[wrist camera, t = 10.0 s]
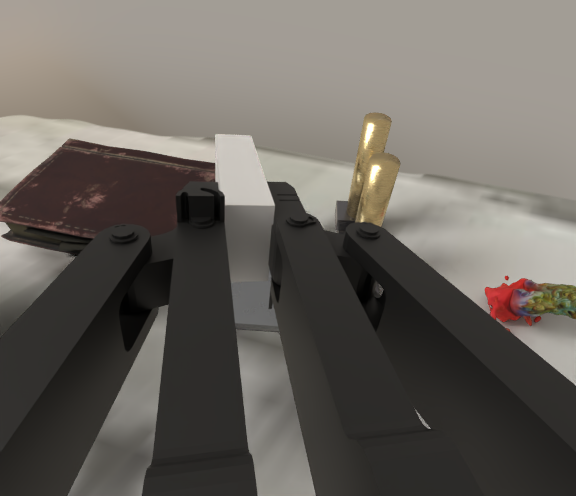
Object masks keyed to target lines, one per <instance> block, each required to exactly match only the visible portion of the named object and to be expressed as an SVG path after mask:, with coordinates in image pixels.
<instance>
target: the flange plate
mask: <svg viewBox="0 0 576 496" xmlns="http://www.w3.org/2000/svg"><path fill="white" fill-rule="evenodd" d="M270 286H271V273H270V269H269V276H268V281H252V282H231V289H232V299H233V309H234V318H235V328H236V329H247V330H260V331H274V332H279V328H278V323H277V319H276V314H275V310H274V306H273V304H272V309H268V308H269V297H270Z"/></svg>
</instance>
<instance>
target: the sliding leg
mask: <svg viewBox="0 0 576 496" xmlns="http://www.w3.org/2000/svg"><path fill="white" fill-rule="evenodd" d="M399 167H400V161H399V159H398V158H397V157H395V156H394V155H391V154H389V153H375V154H373V155H372V156H371V157H370V158H369V163H368V167H367V172H366V176H365V180H364V185H363V189H362V194H361V198H360V203H359V207H358V212H357V216H356V220H355V222H367V223H368V222H370V223H373V224H375V225H378V226H380V227H381V226H382V223H383V220H384V217H385V213H386V210H387V207H388V203H389V200H390V197H391V193H392V190H393V187H394V184H395V180H396V177H397V174H398V170H399Z"/></svg>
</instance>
